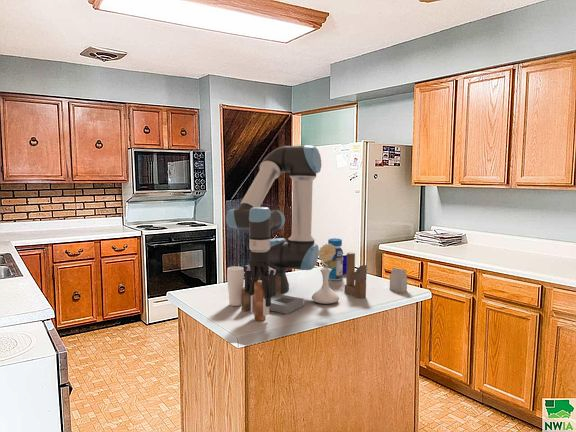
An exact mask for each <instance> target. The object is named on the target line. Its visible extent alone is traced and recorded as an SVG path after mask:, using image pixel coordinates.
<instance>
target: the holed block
mask: <svg viewBox="0 0 576 432" xmlns="http://www.w3.org/2000/svg"><path fill="white" fill-rule="evenodd" d="M302 307H304V298H301V297H295V296H290V295H285V294H282V293H281V294H276V295H275V296H273V297H271V306H269V312H271V311H272V312H275V313H281V314H284V315H287V314H290V313H292V312H294V311H297V310H298V309H300V308H302Z"/></svg>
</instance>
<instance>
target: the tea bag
mask: <svg viewBox="0 0 576 432" xmlns="http://www.w3.org/2000/svg"><path fill="white" fill-rule="evenodd" d="M389 290H390V291H394V292H398V293H405V292H407V291H408V276H407V274H406V270H405V269H401V268H398V267H394V266H393V267H392V269H391V273H390V276H389Z"/></svg>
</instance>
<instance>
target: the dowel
mask: <svg viewBox="0 0 576 432" xmlns="http://www.w3.org/2000/svg"><path fill="white" fill-rule="evenodd" d="M264 297H265V294H264V289H263V284H262V280H258V281H255V282H254V313H253V314H254V315H253V316H254V317H253V318H254V321H255V322H264V321H266V316H263V298H264Z"/></svg>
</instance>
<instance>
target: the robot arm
mask: <svg viewBox="0 0 576 432" xmlns="http://www.w3.org/2000/svg"><path fill="white" fill-rule="evenodd" d="M321 168H322V159H321V154H320V151H319V150H318V148H317V147H316V146H314V145H306V144H305V145H283V146H280V147H279V146H278V147H277V148H275V149H274V150H272V151H270V152H269V153H268V154H267V155H266V156H265V157H264V158H263V160H262V161H261V163H260V164H259V171H258V173H257V175H256V176H255V177H254V179H253V181H252V183H251V185H250V186H249V187H248V190H247V191H246V193H245V194H244V196H243V198H242V199H241V202H240V203H239V205H238V207H237V208H231V209H229V210H228V211H227V212H226V217H225V220H226V224H227V226H228V227H229V228H231V229H238V230H249V231H248V233H249V237H248V238H249V239H248V240H249V243H248V245H249V246H248V247H249V248H248V249H249V250H250V251H249V252H248V254H249V255H248V259H249V264H247V265H244V266H242V267H243V268H244V287H245V292H247V293H248V294H249V302H250V303H251V310H250V314H254V282H255V281H258V280H262V284H263V289H264V294H265V297H264V298H263V316H265V317H267V316H268V315H270V310H269V306H271V297H273V296H275V295H276V276H281V294H282V293H286V292H289V290H290V283H289V281H288V277H287V274H286V269H290V270H299V271H311V270H313V269H314V268H315V266H316V265H317V263H318V259H319V255H318V254H319V250H320V248H319V245H318V244H316V243H315V238H314V237H313V236H312V217H313V214H312V213H313V185H314V184H313V183H314V180H315V179H316V178H317V174H318V173H320V172H321V170H322V169H321ZM283 173H289V178H290V179H291V180H292V207H291V208H292V209H291V235H290V237H288V238H287V240H286V238H285V237H284V238H283V237H278V238H277V237H276V238H271V232H273V231H277V230H280V229H281V228H283V226H284V225H285V222H286V218H285V217H286V216H285V214H284V213H283V212H282V211H281V210H278V209H270V208H269V207H266V206H261V205H262V204H263V202H264V200H265V198H266V196H267V194H268V193H269V191H270V189H271V188H272V185H273V183H274V182H275V180H276V179H278V178H279V177H281V176H280V175H281V174H283ZM268 279H269V280H268Z"/></svg>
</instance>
